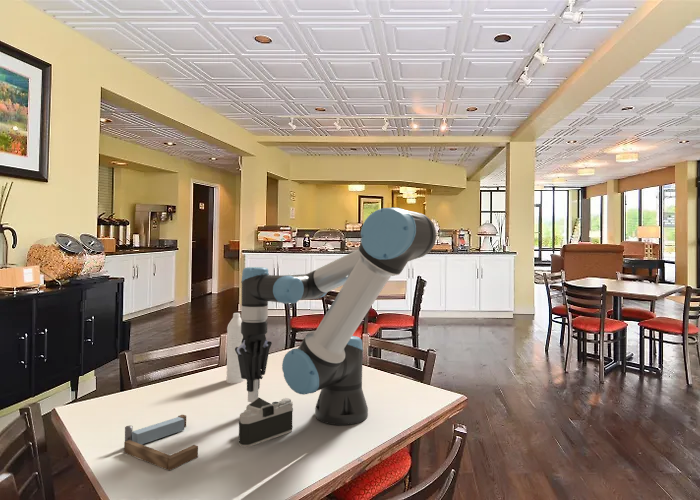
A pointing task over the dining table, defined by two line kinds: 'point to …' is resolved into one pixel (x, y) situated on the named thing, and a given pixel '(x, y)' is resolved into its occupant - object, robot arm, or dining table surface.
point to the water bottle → (232, 342)
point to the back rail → (146, 454)
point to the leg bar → (158, 430)
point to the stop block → (184, 419)
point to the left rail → (182, 457)
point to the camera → (264, 421)
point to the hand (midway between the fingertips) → (252, 401)
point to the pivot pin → (128, 433)
